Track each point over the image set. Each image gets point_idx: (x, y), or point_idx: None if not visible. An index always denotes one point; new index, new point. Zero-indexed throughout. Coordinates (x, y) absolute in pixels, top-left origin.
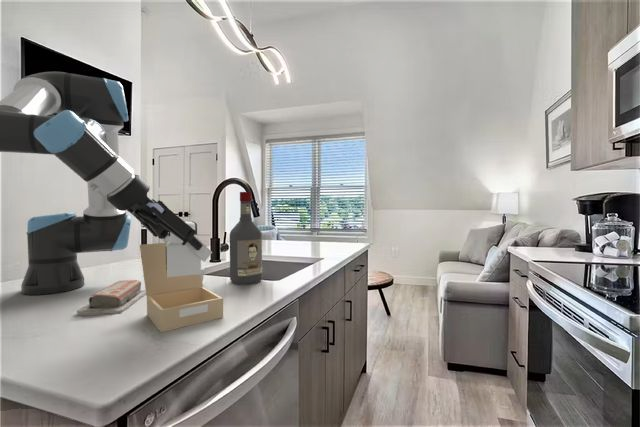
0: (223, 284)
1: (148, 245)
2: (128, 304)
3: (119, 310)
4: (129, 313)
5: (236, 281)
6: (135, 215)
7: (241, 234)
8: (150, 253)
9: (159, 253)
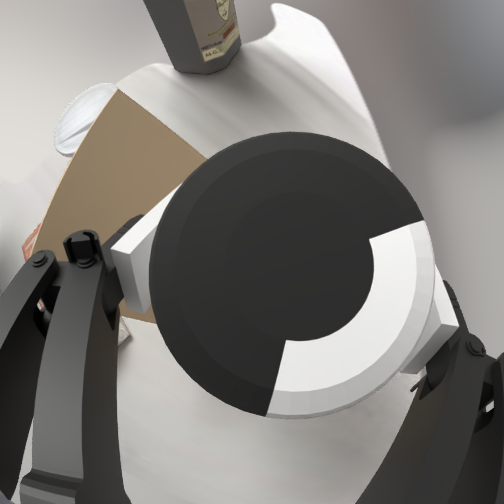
0: (174, 88)
1: None
2: None
3: (125, 336)
4: (147, 330)
5: (202, 71)
6: (13, 491)
7: None
8: None
9: None
